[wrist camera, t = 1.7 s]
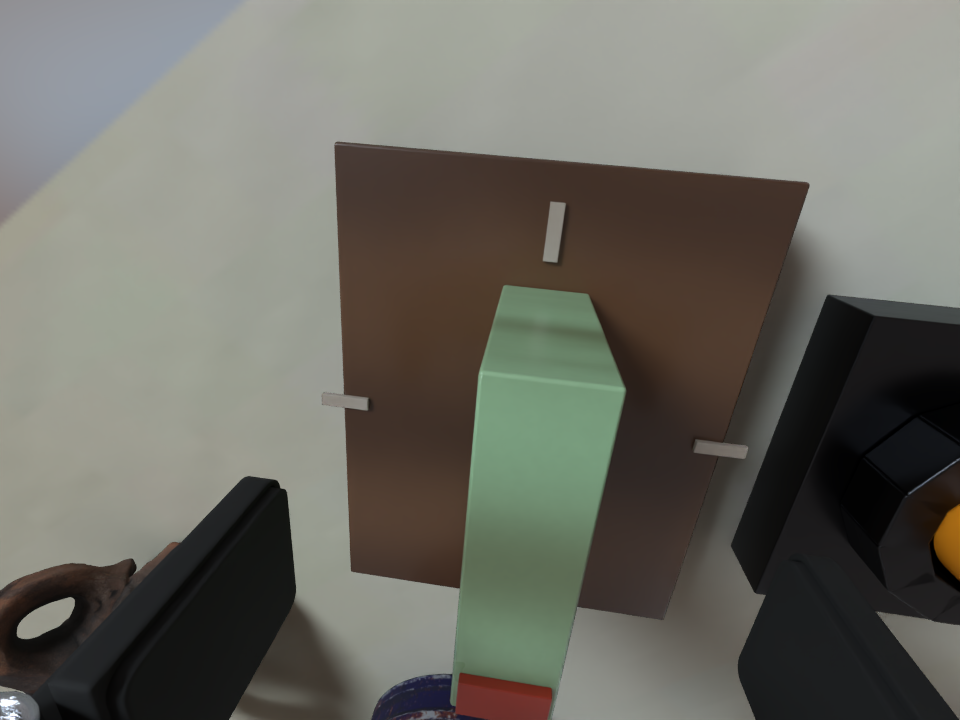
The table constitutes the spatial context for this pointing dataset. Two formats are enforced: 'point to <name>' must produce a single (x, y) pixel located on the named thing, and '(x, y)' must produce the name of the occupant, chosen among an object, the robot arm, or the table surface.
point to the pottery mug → (95, 599)
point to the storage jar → (419, 701)
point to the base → (553, 266)
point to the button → (949, 542)
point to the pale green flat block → (532, 499)
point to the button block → (866, 457)
